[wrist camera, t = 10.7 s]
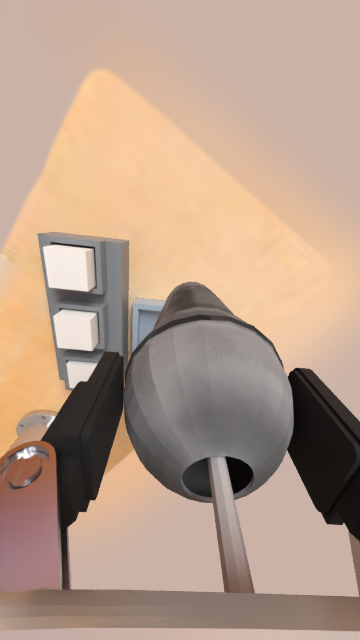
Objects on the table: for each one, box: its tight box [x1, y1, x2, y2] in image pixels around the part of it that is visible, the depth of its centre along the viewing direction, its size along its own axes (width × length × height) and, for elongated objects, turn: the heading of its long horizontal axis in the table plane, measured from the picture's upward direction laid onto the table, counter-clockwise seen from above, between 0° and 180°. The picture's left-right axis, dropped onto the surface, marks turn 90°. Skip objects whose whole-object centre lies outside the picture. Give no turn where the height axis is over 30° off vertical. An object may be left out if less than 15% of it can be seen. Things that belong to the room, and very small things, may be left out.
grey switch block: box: [38, 232, 129, 390], centre depth 31 cm, size 22×10×8 cm, turn 174°
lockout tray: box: [132, 298, 166, 352], centre depth 35 cm, size 12×12×2 cm
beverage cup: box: [124, 282, 294, 594], centre depth 11 cm, size 7×7×20 cm
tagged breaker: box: [67, 360, 98, 388], centre depth 33 cm, size 4×4×2 cm
